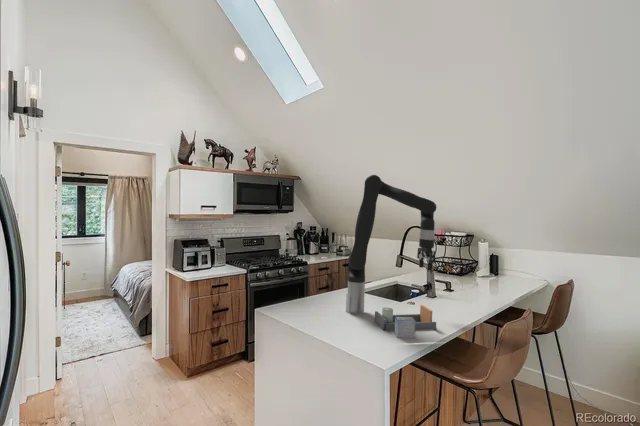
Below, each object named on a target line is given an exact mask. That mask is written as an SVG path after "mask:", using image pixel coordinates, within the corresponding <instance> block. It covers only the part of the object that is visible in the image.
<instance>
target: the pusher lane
mask: <svg viewBox="0 0 640 426" xmlns="http://www.w3.org/2000/svg"><path fill="white" fill-rule="evenodd" d="M395 317H412V318H413V319H414V320H415V331H416V330H433V331H437V321H432V322H421V321H420V313H415V314H414V313H410V314H408V313H406V314H393V323H387V320H386V319H385V318H384V317H383V316H382V313H380V312H379V311H376V310H375V311H374V323H376V324H377V325H378V327H379V328H380V329H382V331H383V332H389V331H391V332H392V331H393V332H395Z"/></svg>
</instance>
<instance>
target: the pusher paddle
mask: <svg viewBox="0 0 640 426" xmlns="http://www.w3.org/2000/svg"><path fill="white" fill-rule="evenodd" d="M419 306H420V308H419V309H420V310H419V314H420V321H421V322H433V310H432V309H430V308H428V307H427V306H425V305H423V304H420V305H419Z"/></svg>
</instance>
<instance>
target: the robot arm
mask: <svg viewBox="0 0 640 426" xmlns="http://www.w3.org/2000/svg"><path fill="white" fill-rule="evenodd" d="M363 188H364V189H363V196H362V197H363V198H362V201H361V205H360V207H359V211H358V215H357V217H356V221H355V222H356V223H355V227H354V228H355V230H354V243H353V247H352V250H351V253H350V254H349V255H348V260H347V261H348V262H347V263H348V264H347V293H346V296H345V297H346V299H345V301H346V302H345V304H346V305H345V312H346V313H347V314H355V315H360V314H361V315H362V314H364V313H365V296H366V295H365V291H366V263H367V255H368V246H369V242H370V239H371V238H372V237H371V236H372V232H373V228H374V224H375V218H376V212H377V202H378V198H379V195H380V196H385V197H387V198H389V199H391V200H393V201H395V202H398V203H400V204H403V205H406V206H407V207H409V208H412V209H416V210H419V211H420V229H419V230H420V231H419V236H418V237H419V240H418V248H417V256H416V258H417V259H418V262H419V264H418V266H419V268H424V267H425V265H424V264H425V263H424V262H425V260H426V261H427V266H426V267H427V268H426V269H427V271H429V272H430V271H433V264H436V250H432V249H434V247H435V235H436V233H435V225H436V222H435V220H434V219H435V218H434V216H435V215H434V214H435V212H436V210H437V204H436V203H435V202H434V201H432V200H431V199H428V198H425V197H421V196H419V195H417V194H415V193H412V192H410V191H408V190H404V189H401V188H398V187H395V186H392V185H390V184H387V183H386V182H384V181H383V180H382V179H381V177H379V176H378V175H377V174H371V175H369V176H367V177H366V178H365V180H364V187H363Z"/></svg>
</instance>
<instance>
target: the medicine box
mask: <svg viewBox="0 0 640 426" xmlns="http://www.w3.org/2000/svg"><path fill="white" fill-rule="evenodd" d="M394 335H395V337H396V339H415V337H416V330H415V320H414V319H413V318H412V317H395V331H394Z"/></svg>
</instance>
